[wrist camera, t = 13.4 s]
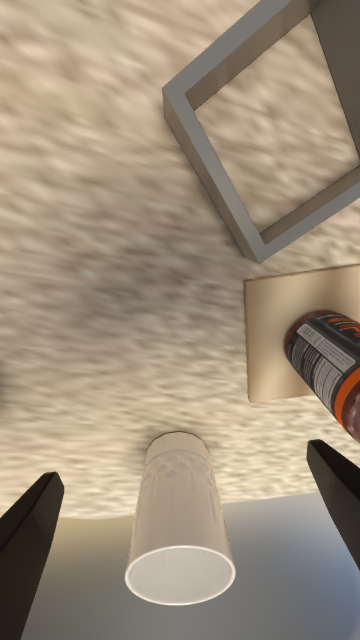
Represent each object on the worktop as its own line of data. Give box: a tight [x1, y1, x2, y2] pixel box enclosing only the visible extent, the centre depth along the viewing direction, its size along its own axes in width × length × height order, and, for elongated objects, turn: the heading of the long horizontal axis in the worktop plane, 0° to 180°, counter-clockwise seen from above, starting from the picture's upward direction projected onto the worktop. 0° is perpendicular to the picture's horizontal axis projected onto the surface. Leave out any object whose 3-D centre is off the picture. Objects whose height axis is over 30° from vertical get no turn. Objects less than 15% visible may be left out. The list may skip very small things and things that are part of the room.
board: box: [244, 264, 360, 403], centre depth 21 cm, size 12×12×1 cm
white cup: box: [125, 432, 235, 605], centre depth 22 cm, size 8×8×10 cm
